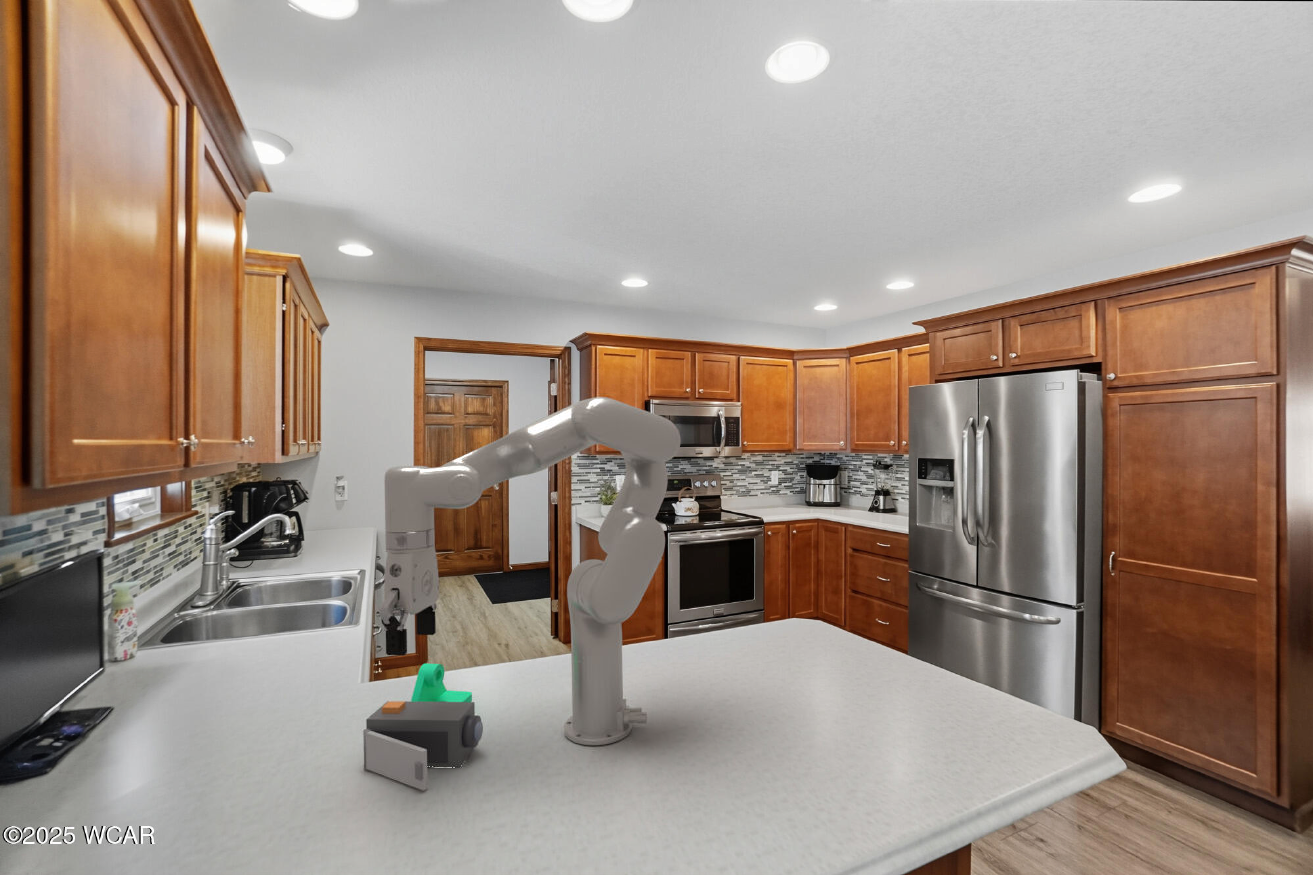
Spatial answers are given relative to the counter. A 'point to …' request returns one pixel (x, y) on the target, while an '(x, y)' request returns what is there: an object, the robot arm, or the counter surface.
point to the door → (395, 759)
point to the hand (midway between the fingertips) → (412, 643)
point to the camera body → (431, 728)
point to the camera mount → (435, 687)
